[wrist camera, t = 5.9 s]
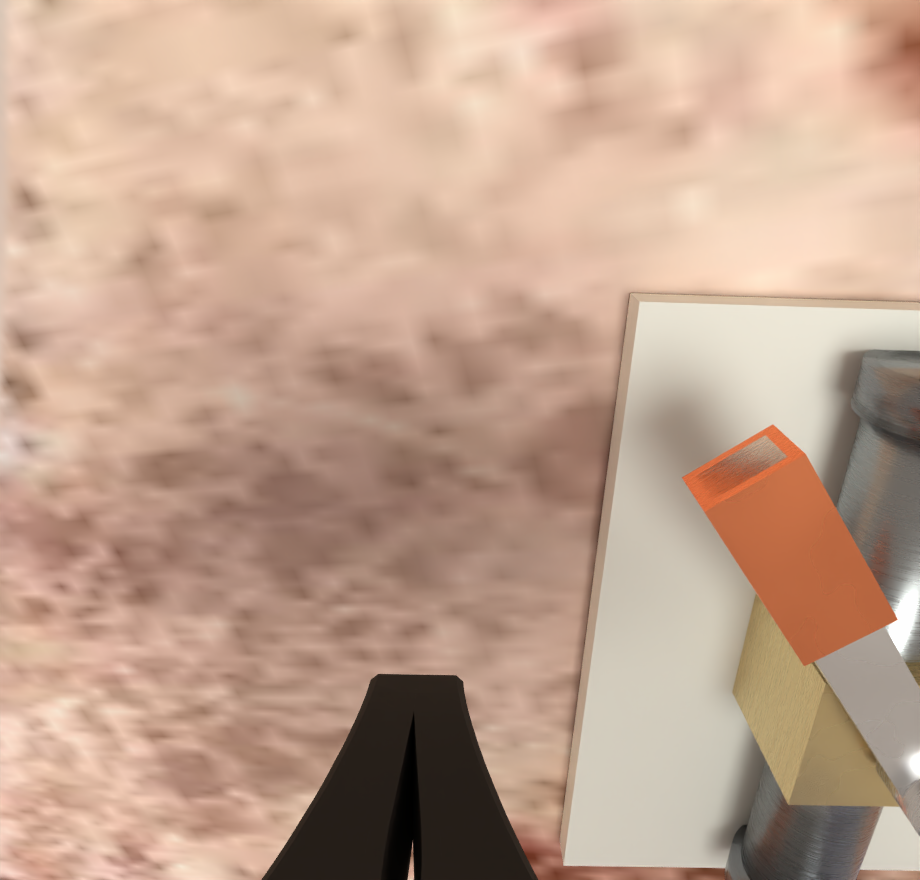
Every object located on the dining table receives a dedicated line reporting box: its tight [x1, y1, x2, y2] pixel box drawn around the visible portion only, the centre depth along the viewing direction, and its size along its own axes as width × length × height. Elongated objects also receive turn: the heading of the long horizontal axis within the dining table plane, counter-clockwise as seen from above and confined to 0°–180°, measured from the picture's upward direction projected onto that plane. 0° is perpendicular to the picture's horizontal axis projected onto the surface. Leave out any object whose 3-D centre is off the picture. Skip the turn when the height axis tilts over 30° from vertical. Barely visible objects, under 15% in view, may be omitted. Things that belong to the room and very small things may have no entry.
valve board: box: [560, 293, 920, 871], centre depth 22 cm, size 20×14×1 cm
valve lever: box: [682, 424, 920, 836], centre depth 15 cm, size 11×2×2 cm, turn 35°
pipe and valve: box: [725, 349, 920, 880], centre depth 19 cm, size 18×5×4 cm, turn 178°
